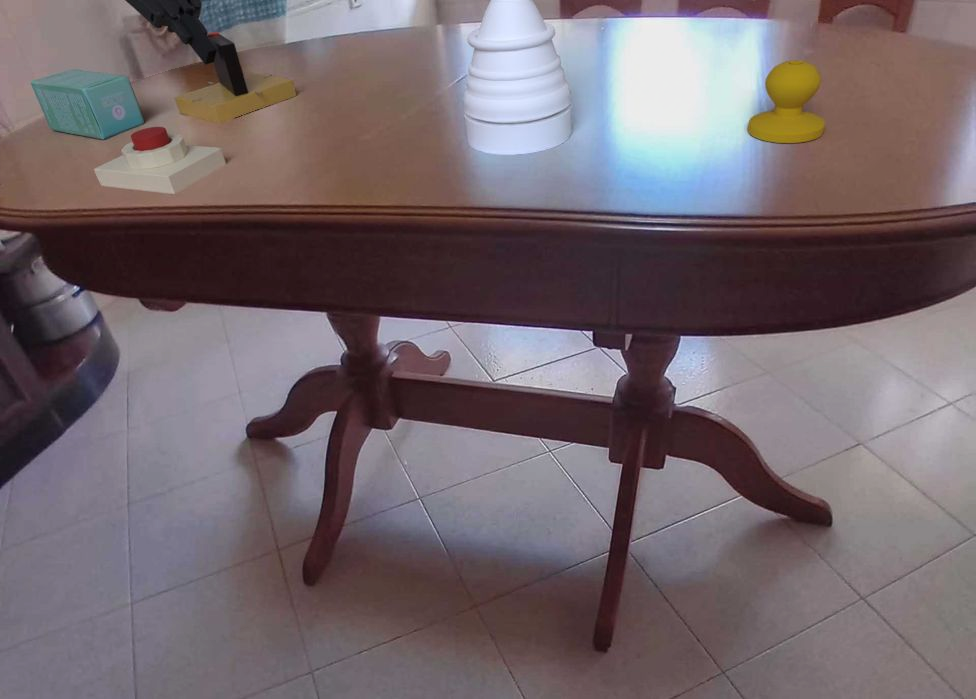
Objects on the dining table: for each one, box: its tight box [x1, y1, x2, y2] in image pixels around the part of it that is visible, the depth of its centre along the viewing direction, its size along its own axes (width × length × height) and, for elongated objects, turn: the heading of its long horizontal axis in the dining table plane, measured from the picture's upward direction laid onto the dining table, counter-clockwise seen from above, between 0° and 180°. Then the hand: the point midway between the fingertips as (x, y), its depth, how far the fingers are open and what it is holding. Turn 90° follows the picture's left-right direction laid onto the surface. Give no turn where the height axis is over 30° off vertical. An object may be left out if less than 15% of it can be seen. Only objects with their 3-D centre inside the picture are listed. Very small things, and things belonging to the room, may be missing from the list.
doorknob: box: [747, 59, 826, 144], centre depth 77 cm, size 8×8×8 cm
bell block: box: [93, 132, 227, 195], centre depth 85 cm, size 12×9×4 cm
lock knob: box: [207, 31, 248, 96], centre depth 105 cm, size 10×2×7 cm, turn 31°
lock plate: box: [173, 72, 297, 124], centre depth 108 cm, size 14×14×3 cm
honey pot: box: [462, 0, 573, 156], centre depth 81 cm, size 13×13×18 cm
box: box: [29, 68, 145, 141], centre depth 103 cm, size 7×14×8 cm, turn 59°
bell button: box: [130, 126, 171, 151], centre depth 83 cm, size 4×4×2 cm
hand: (210, 57), depth 102 cm, fingers closed
